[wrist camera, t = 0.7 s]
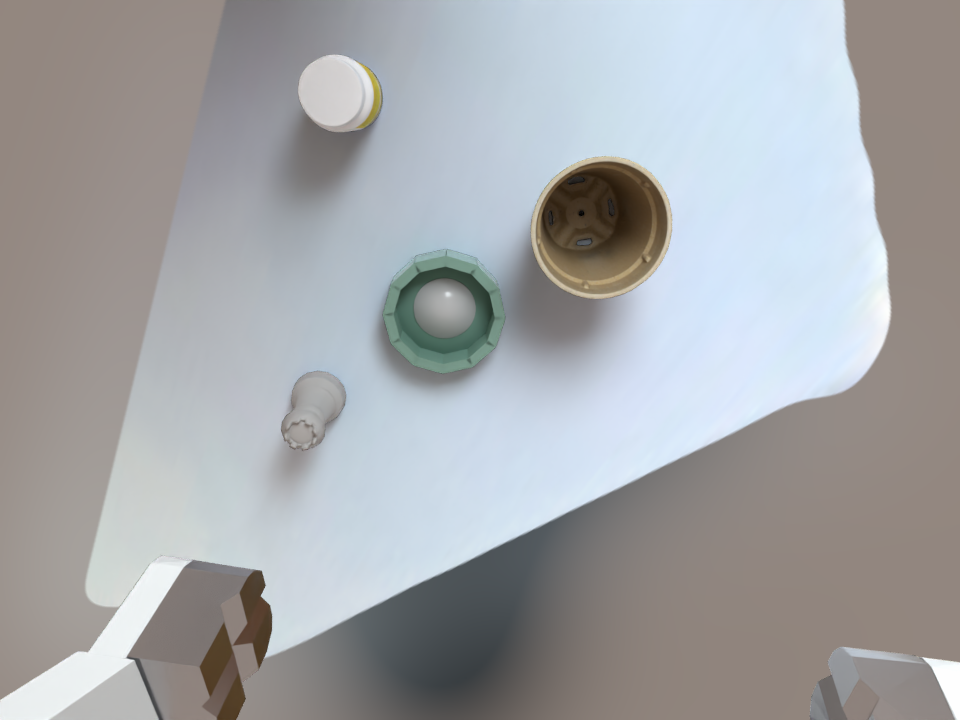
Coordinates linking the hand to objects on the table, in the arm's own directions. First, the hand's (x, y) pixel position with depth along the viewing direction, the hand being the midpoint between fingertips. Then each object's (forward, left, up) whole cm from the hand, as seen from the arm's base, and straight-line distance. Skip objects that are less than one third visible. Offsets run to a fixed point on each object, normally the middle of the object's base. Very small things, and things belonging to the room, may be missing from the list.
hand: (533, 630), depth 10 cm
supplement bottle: (-10, -7, -46) cm, 47 cm away
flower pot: (+2, +8, -46) cm, 46 cm away
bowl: (+7, -4, -45) cm, 46 cm away
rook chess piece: (+12, -16, -46) cm, 50 cm away
